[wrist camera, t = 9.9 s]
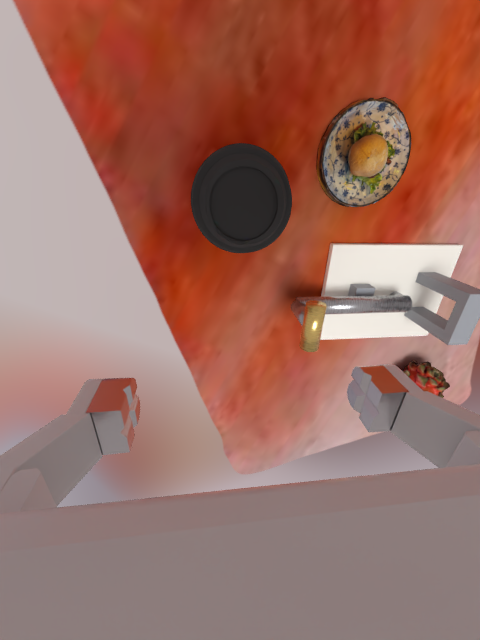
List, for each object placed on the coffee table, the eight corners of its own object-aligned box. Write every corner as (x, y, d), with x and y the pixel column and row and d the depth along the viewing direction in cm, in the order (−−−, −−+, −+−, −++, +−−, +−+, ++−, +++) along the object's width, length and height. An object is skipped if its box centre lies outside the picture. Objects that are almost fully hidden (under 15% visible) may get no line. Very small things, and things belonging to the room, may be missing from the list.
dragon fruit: (408, 342, 53) (396, 383, 60) (389, 369, 49) (379, 409, 56) (461, 362, 47) (441, 403, 55) (445, 393, 43) (426, 434, 50)
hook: (281, 316, 43) (302, 352, 34) (285, 279, 40) (310, 308, 31) (393, 313, 45) (441, 346, 36) (404, 278, 43) (459, 304, 34)
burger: (381, 212, 39) (418, 219, 33) (305, 199, 37) (327, 203, 31) (418, 111, 34) (469, 95, 28) (331, 89, 32) (365, 66, 25)
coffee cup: (213, 139, 33) (220, 112, 19) (276, 179, 35) (320, 179, 22) (183, 211, 36) (172, 230, 23) (243, 243, 39) (265, 275, 25)
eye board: (313, 336, 47) (340, 374, 38) (330, 243, 40) (368, 262, 31) (423, 332, 50) (473, 367, 41) (457, 244, 43) (527, 261, 34)
